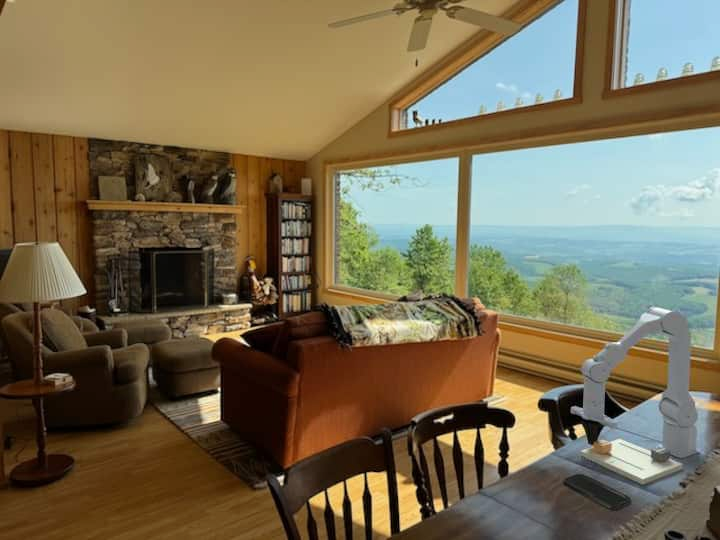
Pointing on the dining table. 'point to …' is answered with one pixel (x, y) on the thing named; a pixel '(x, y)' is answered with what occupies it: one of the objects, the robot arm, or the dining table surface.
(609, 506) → the phone
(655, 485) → the dining table surface
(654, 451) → the block
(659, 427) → the dining table surface
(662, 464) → the board
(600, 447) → the fader orange
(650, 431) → the dining table surface
